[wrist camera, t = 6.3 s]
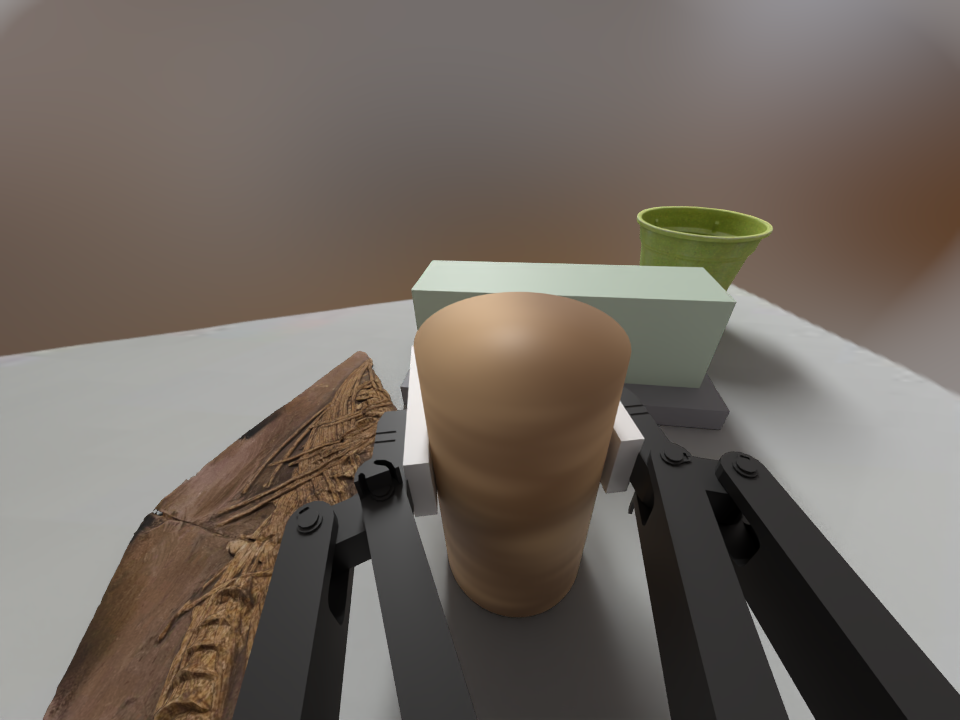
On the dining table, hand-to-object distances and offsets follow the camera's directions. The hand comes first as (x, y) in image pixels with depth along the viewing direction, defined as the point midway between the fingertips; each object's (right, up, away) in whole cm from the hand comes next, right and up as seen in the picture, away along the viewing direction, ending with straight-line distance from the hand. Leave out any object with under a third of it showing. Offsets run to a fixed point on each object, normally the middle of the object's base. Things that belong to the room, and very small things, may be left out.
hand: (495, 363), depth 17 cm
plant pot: (+17, +4, +16) cm, 24 cm away
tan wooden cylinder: (+1, -8, 0) cm, 8 cm away
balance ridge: (+5, -1, +10) cm, 11 cm away
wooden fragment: (-11, -7, +3) cm, 14 cm away
